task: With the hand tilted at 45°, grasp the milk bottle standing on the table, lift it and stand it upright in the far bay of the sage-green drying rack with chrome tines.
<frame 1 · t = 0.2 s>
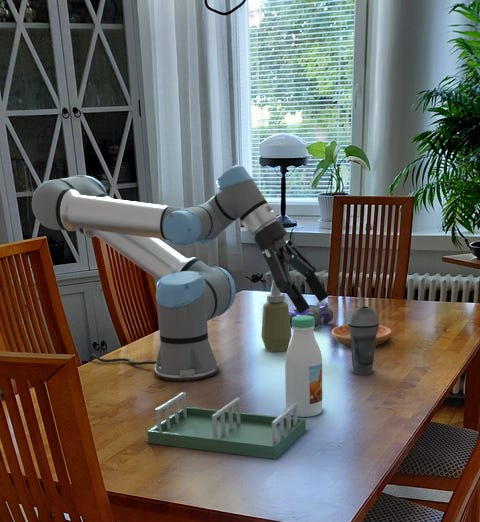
hand: (315, 304, 207), 15 cm above the table, tool tilted 35°, fingers open, 13 cm apart
milk bottle: (304, 412, 184), on the table
toy race car: (303, 325, 255), on the table
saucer: (361, 341, 235), on the table
drying rack: (227, 437, 172), on the table
squeeze bottle: (276, 349, 231), on the table
beverage cup: (362, 372, 209), on the table
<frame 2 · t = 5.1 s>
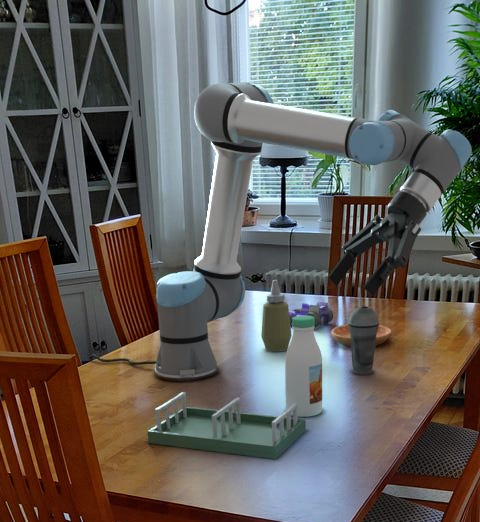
hand: (349, 286, 177), 25 cm above the table, tool tilted 45°, fingers open, 13 cm apart
nothing on the table moved.
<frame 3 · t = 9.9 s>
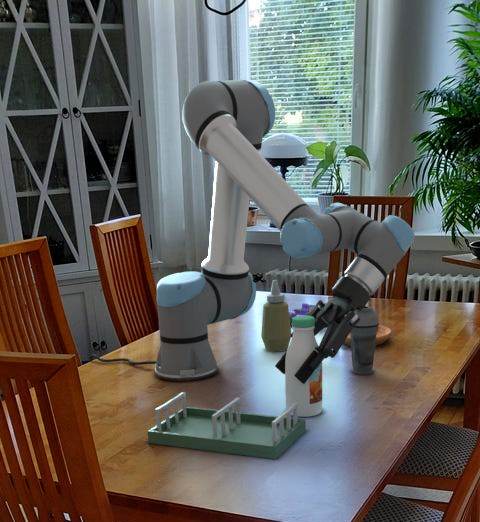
hand: (289, 374, 179), 9 cm above the table, tool tilted 45°, fingers closed on milk bottle, 8 cm apart
milk bottle: (304, 412, 184), on the table, touching gripper
everything else where it was.
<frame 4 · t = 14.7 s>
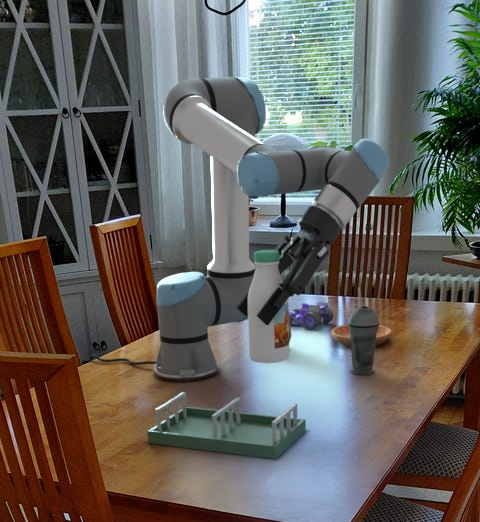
hand: (251, 316, 162), 24 cm above the table, tool tilted 45°, fingers closed on milk bottle, 8 cm apart
milk bottle: (269, 359, 167), point 15 cm above the table, touching gripper
everything else where it was.
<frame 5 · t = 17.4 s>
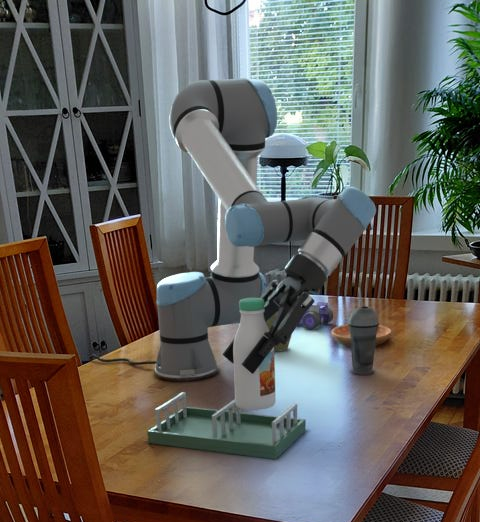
hand: (237, 363, 161), 16 cm above the table, tool tilted 45°, fingers closed on milk bottle, 8 cm apart
milk bottle: (255, 405, 167), point 7 cm above the table, touching gripper
everything else where it was.
when the fingers open (10 cm above the table, at t = 19.6 s): milk bottle stays where it is, resting on drying rack.
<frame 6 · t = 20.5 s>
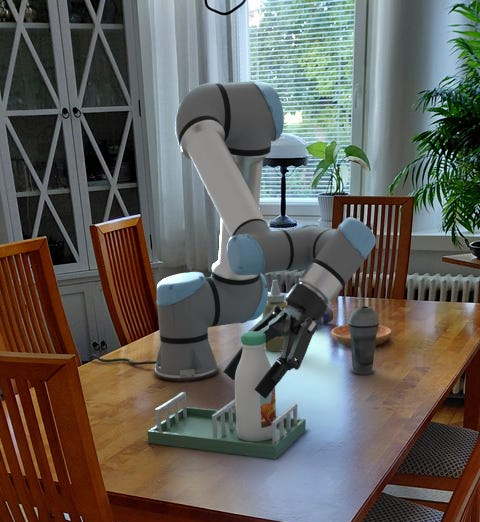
hand: (243, 384, 164), 12 cm above the table, tool tilted 45°, fingers open, 13 cm apart
milk bottle: (256, 436, 169), point 1 cm above the table, touching drying rack
everything else where it was.
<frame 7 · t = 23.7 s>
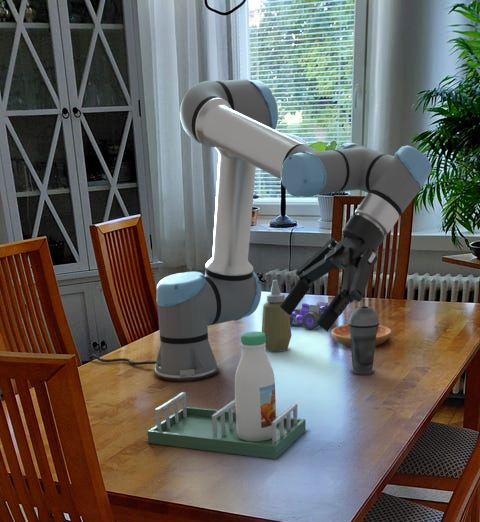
hand: (302, 319, 165), 22 cm above the table, tool tilted 40°, fingers open, 13 cm apart
nothing on the table moved.
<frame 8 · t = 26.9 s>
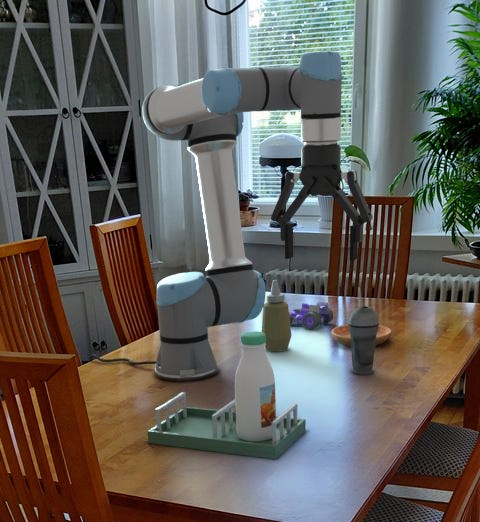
hand: (320, 258, 174), 31 cm above the table, tool pointing down, fingers open, 13 cm apart
nothing on the table moved.
at the end: milk bottle inside the target area on the drying rack (0.1 cm from its centre), point 0.8 cm above the drying rack's base; milk bottle tilted 0°; the gripper is holding nothing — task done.
